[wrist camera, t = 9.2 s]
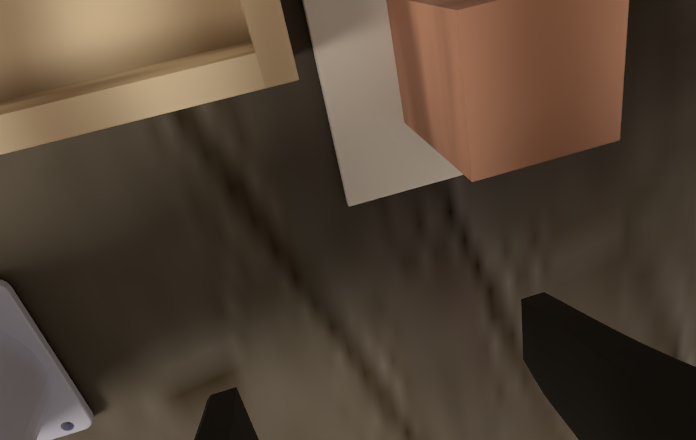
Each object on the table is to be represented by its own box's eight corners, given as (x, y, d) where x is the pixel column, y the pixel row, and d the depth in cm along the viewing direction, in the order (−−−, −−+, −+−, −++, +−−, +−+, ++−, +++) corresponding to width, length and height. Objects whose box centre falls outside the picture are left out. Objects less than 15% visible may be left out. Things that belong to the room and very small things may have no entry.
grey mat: (346, 202, 21) (348, 206, 20) (285, -77, 16) (286, -78, 15) (571, 140, 22) (577, 143, 21) (577, -141, 17) (584, -143, 16)
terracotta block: (404, 122, 19) (472, 182, 14) (385, -5, 17) (457, 9, 12) (514, 93, 20) (619, 140, 14) (509, -34, 18) (631, -33, 12)
